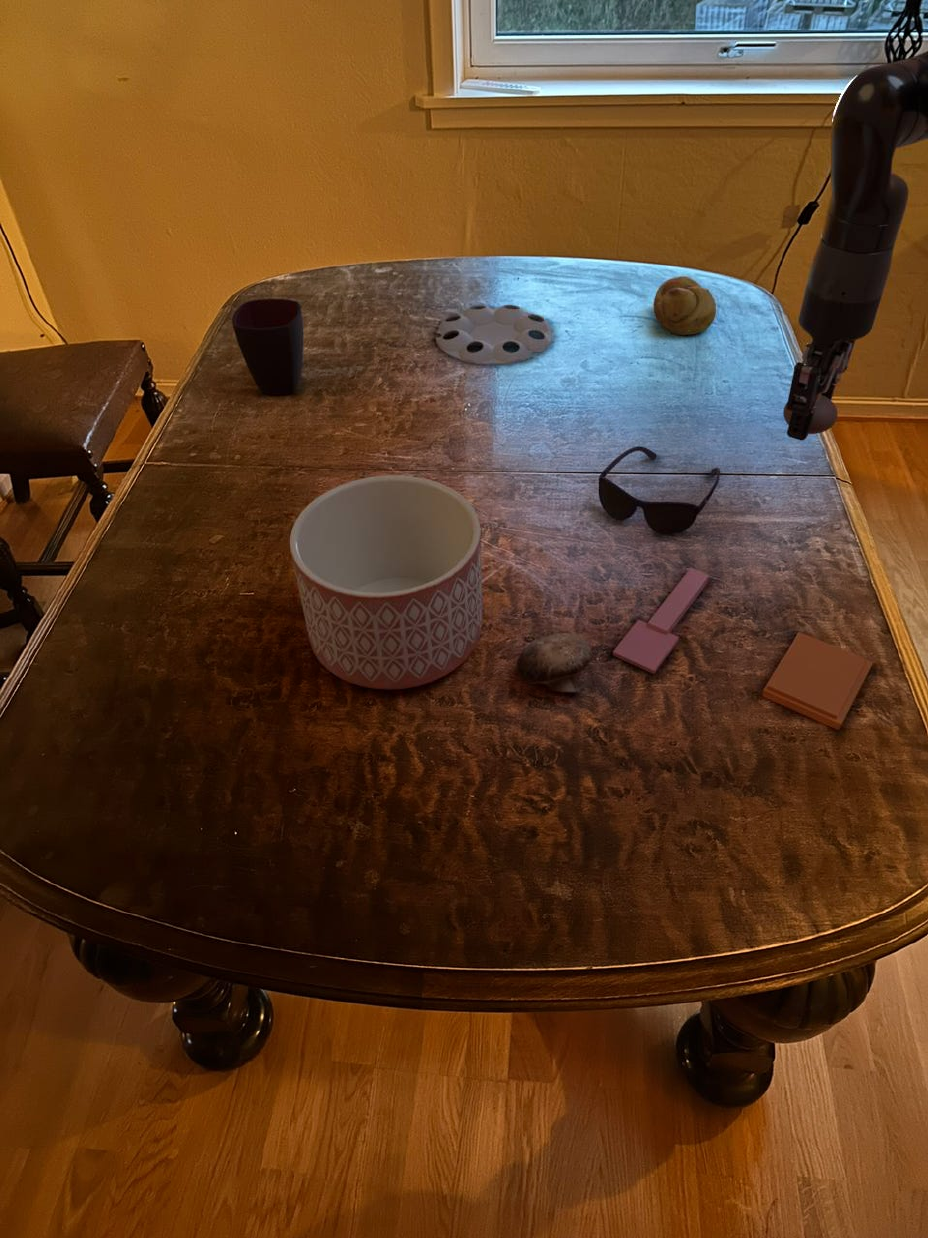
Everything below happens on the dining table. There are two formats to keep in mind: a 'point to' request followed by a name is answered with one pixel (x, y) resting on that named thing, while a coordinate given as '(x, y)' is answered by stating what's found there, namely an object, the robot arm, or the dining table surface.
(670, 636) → the spatula
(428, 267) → the dining table surface
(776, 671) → the brown flat block
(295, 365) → the cup
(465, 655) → the planter
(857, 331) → the robot arm
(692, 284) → the bread roll
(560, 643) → the mushroom
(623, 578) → the dining table surface
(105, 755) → the dining table surface
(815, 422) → the egg
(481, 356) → the paint palette
